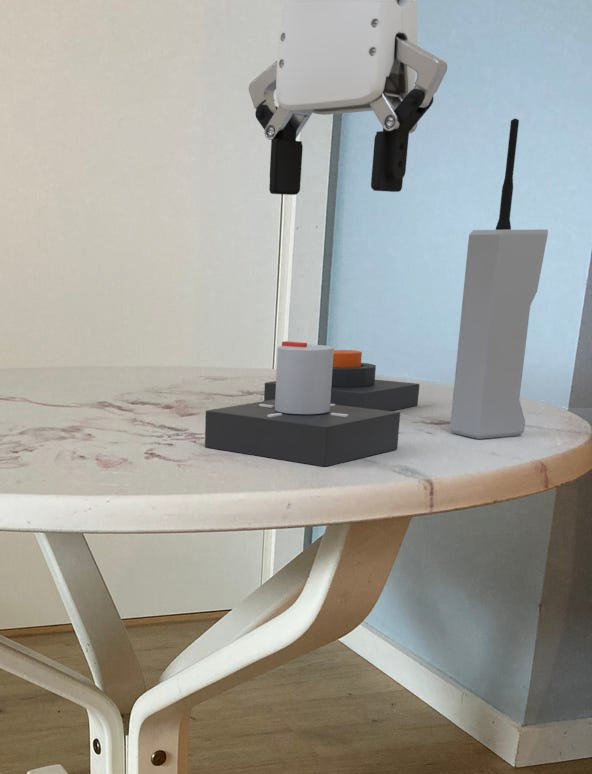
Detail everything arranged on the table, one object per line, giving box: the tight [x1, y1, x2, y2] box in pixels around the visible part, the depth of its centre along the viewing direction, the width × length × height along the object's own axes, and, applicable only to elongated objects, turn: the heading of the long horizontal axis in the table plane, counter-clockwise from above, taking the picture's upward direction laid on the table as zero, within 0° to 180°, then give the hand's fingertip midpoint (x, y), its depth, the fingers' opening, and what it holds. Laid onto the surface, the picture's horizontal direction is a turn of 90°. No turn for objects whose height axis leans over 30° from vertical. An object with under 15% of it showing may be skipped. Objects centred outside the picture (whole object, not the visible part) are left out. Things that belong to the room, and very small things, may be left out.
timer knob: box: [275, 340, 335, 415], centre depth 88 cm, size 4×4×5 cm
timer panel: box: [204, 399, 401, 468], centre depth 90 cm, size 12×10×3 cm
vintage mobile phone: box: [449, 117, 549, 440], centre depth 92 cm, size 4×5×25 cm
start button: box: [333, 349, 363, 368], centre depth 112 cm, size 4×4×2 cm
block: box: [263, 362, 420, 411], centre depth 113 cm, size 12×10×4 cm
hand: (333, 192), depth 86 cm, fingers open, 9 cm apart
